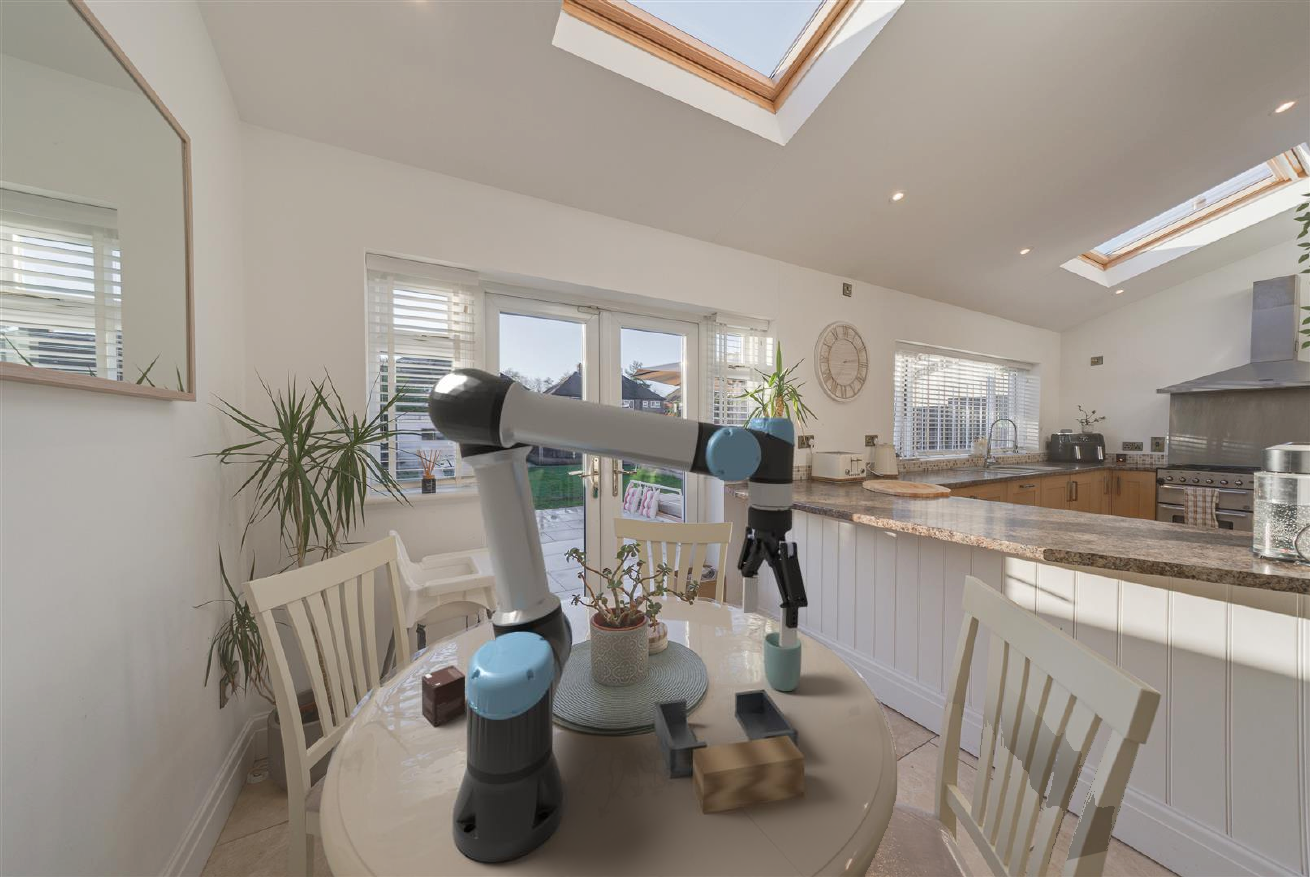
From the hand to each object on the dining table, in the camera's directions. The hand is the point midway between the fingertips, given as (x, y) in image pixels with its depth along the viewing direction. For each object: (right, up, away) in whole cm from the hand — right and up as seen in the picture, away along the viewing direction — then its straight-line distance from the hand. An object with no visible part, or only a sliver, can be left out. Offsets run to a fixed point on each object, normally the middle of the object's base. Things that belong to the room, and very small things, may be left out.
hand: (767, 627), depth 78 cm
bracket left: (-16, -21, -1) cm, 26 cm away
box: (-60, -20, +8) cm, 64 cm away
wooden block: (-5, -21, -10) cm, 24 cm away
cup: (+8, -21, +19) cm, 29 cm away
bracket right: (0, -21, +3) cm, 21 cm away
